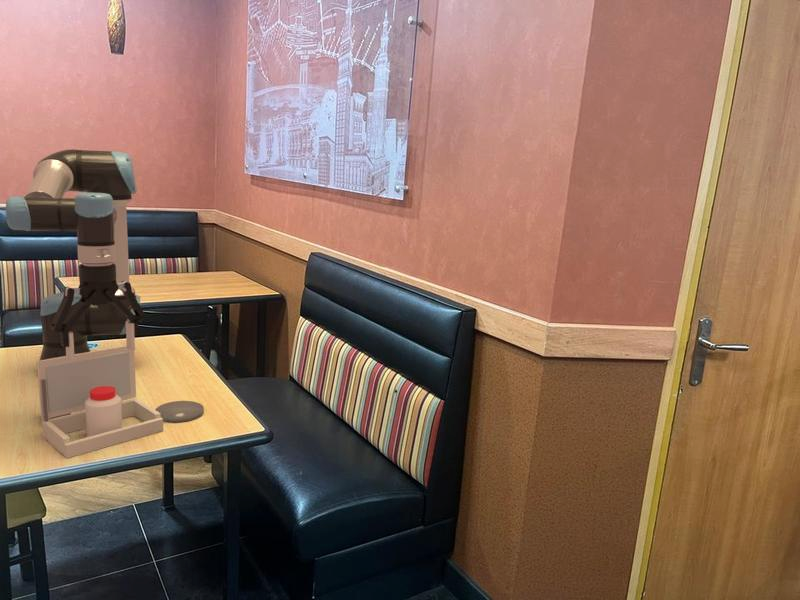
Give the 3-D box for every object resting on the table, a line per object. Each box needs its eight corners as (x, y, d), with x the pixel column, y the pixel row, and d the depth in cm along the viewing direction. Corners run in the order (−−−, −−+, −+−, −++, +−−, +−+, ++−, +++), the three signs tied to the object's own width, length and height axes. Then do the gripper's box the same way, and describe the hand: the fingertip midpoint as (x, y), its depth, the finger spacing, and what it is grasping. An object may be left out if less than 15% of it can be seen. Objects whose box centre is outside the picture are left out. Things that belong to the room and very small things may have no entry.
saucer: (146, 412, 162) (145, 408, 162) (188, 400, 171) (188, 397, 171) (169, 426, 155) (169, 423, 154) (212, 414, 163) (212, 410, 163)
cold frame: (42, 435, 146) (36, 361, 142) (135, 411, 162) (132, 344, 158) (67, 458, 136) (62, 378, 132) (163, 430, 152) (161, 358, 148)
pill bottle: (108, 443, 145) (106, 397, 142) (79, 438, 146) (76, 393, 144) (129, 429, 152) (127, 386, 150) (101, 425, 153) (98, 382, 151)
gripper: (42, 270, 129) (49, 369, 133) (158, 261, 147) (161, 348, 151) (29, 265, 134) (36, 360, 138) (143, 256, 152) (146, 341, 156)
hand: (101, 354), depth 145 cm, fingers open, 13 cm apart
